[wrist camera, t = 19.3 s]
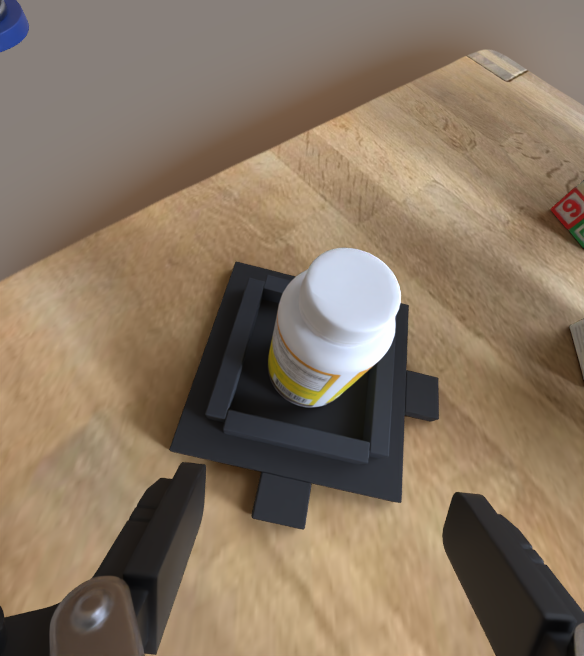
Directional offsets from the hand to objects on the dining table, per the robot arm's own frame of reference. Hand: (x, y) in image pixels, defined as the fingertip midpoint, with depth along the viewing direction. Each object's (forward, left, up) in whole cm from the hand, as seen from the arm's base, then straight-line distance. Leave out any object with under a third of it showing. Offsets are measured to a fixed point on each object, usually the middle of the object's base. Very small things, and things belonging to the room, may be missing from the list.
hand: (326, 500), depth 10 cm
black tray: (+1, +7, -10) cm, 12 cm away
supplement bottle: (0, +8, -9) cm, 12 cm away
